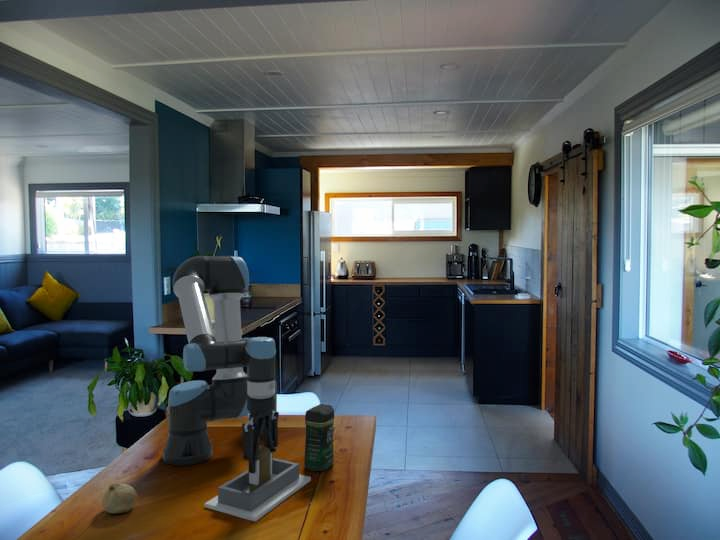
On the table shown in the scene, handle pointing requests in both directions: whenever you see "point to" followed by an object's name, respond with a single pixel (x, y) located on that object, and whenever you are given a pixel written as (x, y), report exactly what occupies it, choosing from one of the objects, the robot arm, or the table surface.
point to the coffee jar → (319, 438)
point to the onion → (119, 498)
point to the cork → (263, 467)
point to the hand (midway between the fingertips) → (260, 479)
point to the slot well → (258, 492)
